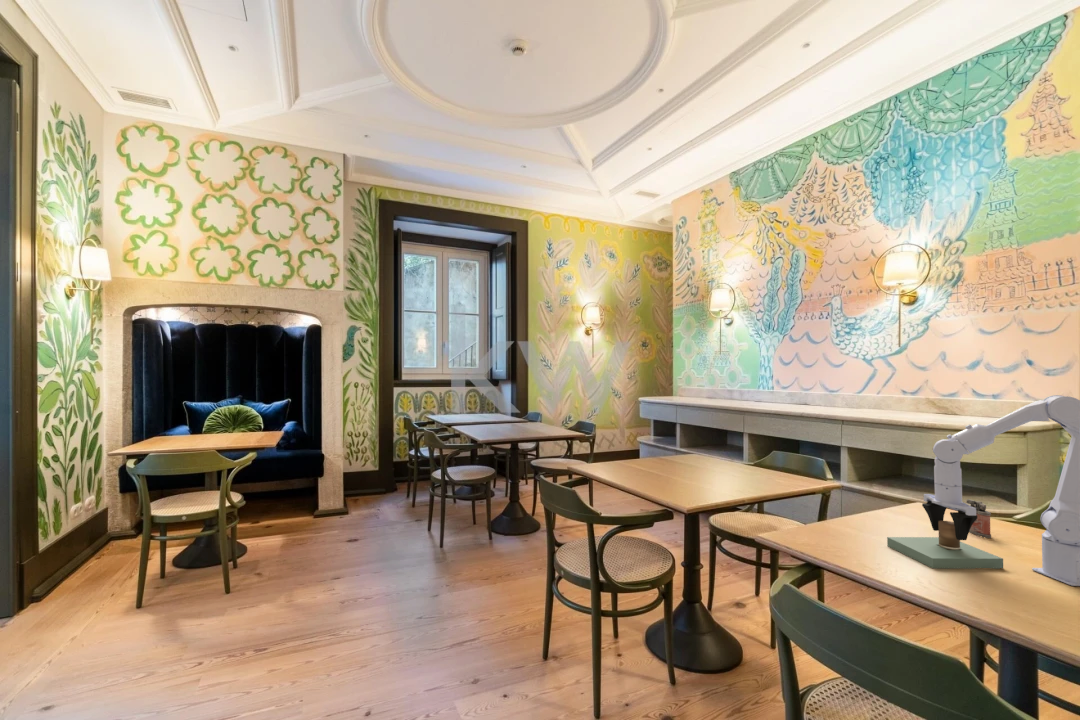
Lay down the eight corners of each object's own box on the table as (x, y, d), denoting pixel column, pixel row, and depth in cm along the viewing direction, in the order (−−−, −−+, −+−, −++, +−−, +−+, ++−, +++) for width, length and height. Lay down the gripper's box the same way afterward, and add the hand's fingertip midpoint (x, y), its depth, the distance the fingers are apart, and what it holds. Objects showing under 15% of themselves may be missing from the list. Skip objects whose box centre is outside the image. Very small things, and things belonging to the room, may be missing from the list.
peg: (965, 559, 129) (964, 525, 129) (948, 559, 129) (948, 525, 129) (950, 553, 134) (949, 520, 134) (934, 553, 134) (933, 520, 134)
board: (1003, 568, 123) (1003, 558, 123) (932, 568, 123) (932, 558, 123) (949, 546, 139) (949, 537, 139) (887, 545, 139) (887, 537, 139)
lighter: (994, 538, 146) (994, 504, 147) (983, 538, 147) (982, 504, 147) (971, 529, 154) (971, 497, 155) (960, 529, 155) (960, 497, 155)
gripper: (912, 478, 139) (913, 526, 139) (956, 490, 125) (957, 544, 124) (937, 478, 139) (938, 526, 139) (983, 490, 125) (985, 544, 124)
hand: (949, 534), depth 131 cm, fingers open, 7 cm apart
